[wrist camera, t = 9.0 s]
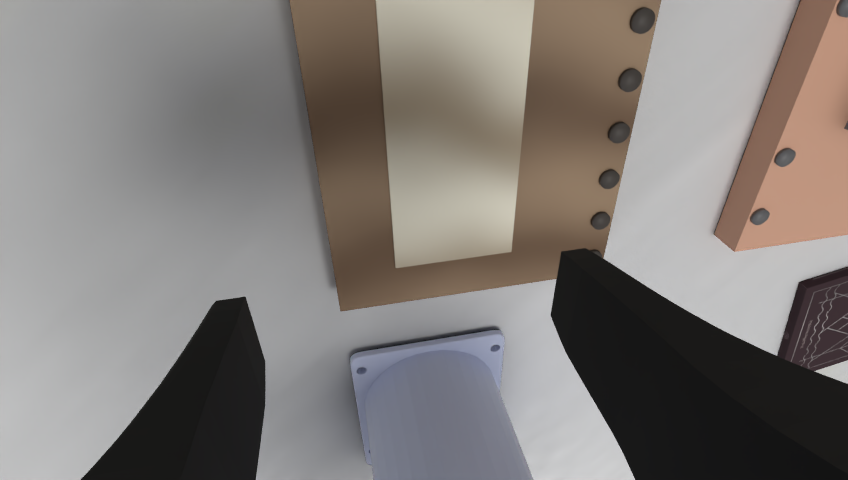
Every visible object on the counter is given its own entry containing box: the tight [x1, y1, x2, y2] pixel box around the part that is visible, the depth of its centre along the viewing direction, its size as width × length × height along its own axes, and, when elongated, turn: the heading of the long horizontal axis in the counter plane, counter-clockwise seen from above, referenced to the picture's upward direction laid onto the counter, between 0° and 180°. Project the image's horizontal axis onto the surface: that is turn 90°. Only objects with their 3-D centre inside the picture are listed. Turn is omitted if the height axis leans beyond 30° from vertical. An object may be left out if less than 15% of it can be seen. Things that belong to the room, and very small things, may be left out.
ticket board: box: [289, 0, 661, 311], centre depth 19 cm, size 16×12×2 cm
